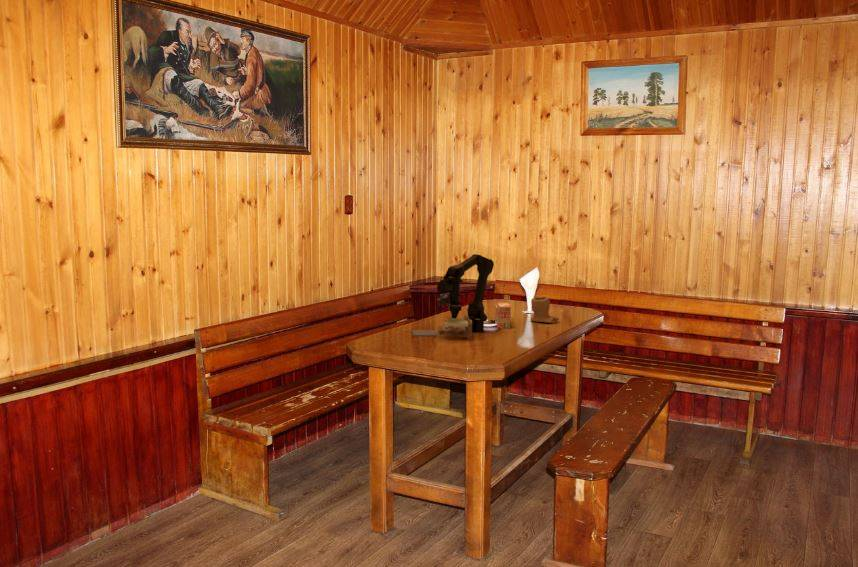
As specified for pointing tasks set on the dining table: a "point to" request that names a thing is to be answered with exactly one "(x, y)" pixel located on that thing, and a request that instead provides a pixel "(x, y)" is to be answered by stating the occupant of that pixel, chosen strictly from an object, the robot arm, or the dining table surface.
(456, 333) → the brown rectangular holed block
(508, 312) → the stack of blocks
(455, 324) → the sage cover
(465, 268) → the robot arm
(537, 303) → the brown boot
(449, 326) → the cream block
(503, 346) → the dining table surface
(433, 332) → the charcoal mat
